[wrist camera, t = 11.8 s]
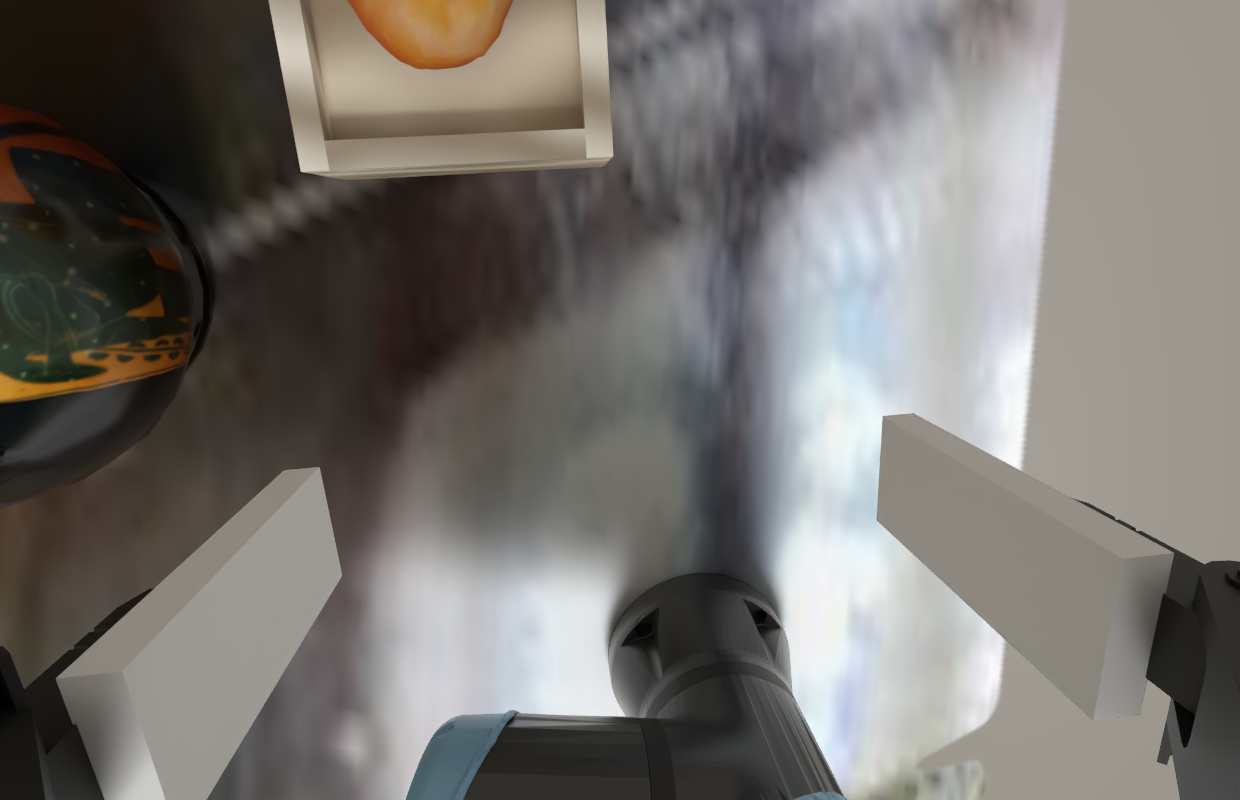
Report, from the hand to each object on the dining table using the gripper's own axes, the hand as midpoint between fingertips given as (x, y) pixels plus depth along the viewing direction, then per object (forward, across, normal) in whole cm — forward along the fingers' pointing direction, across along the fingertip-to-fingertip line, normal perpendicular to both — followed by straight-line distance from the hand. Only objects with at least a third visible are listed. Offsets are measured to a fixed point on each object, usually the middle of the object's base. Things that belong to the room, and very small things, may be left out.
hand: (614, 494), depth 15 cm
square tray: (+31, +6, -18) cm, 37 cm away
